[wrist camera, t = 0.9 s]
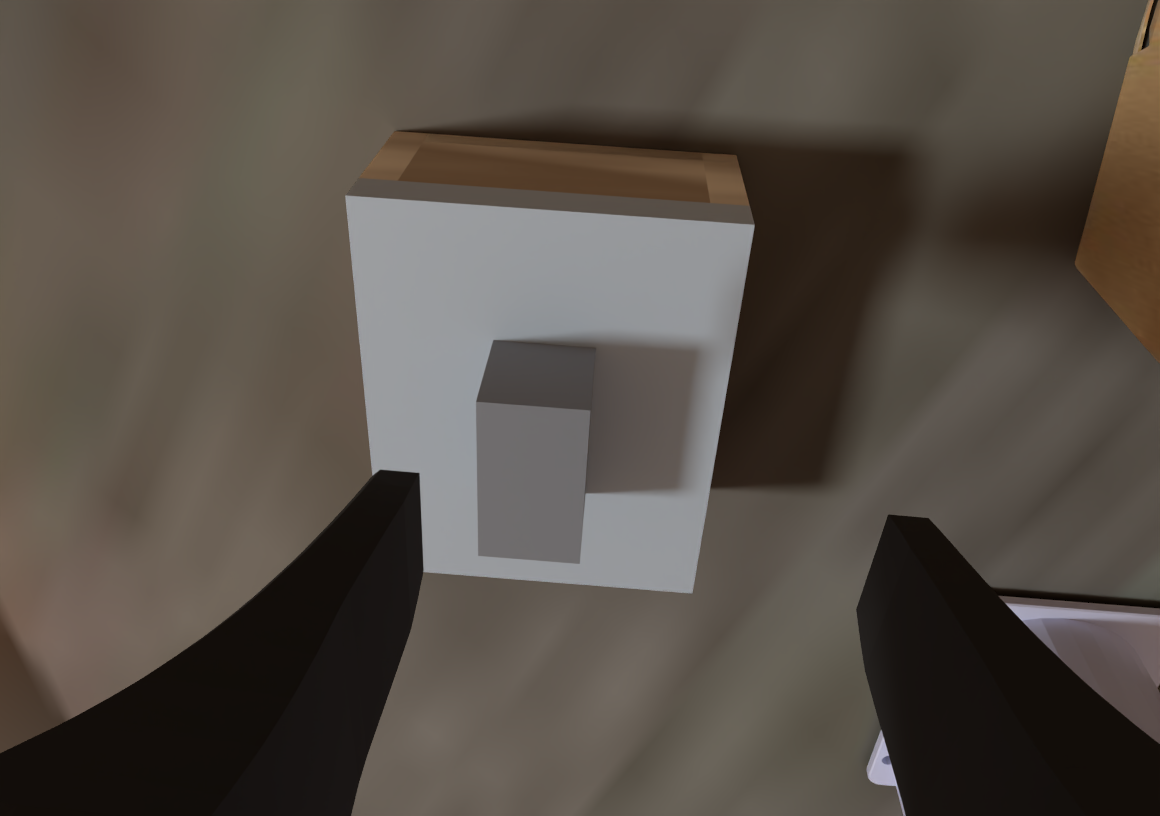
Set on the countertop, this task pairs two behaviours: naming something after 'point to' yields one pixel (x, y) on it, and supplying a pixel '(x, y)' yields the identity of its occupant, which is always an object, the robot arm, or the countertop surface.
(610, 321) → the lid
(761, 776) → the countertop surface
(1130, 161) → the sandwich container
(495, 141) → the box
